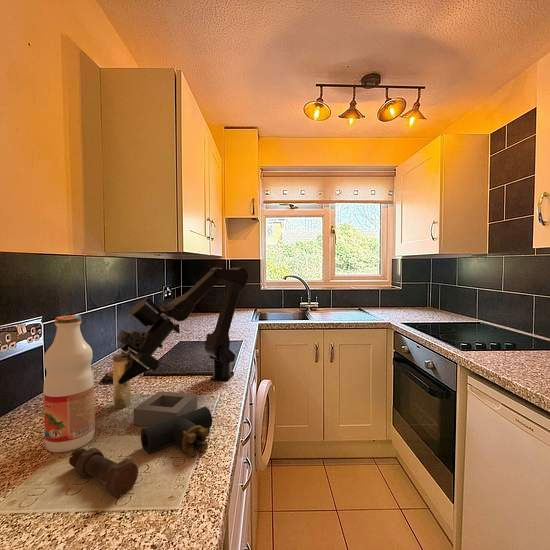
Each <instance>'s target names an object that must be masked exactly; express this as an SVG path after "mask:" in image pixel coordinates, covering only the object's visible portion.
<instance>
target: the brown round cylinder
mask: <svg viewBox="0 0 550 550" xmlns="http://www.w3.org/2000/svg"><path fill="white" fill-rule="evenodd" d="M129 365H130V354H127V353H123V354H121V353H117V354H114V355H113V356H112V370H113V384H112V387H113V389H112V390H113V391H112V392H113V408H114V409H124V408H127V407H130V406H131V404H132V390H131V389H132V386H131V385H132V383H131V382H132V381H131V380H132V379H130V380H128V381H127V382H125V383H123V384H119V383H118V381H119V379H120V378H121V376H122V375H123V373H124V372H125V370H126V369H127V368H128V366H129Z"/></svg>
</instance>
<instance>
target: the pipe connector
mask: <svg viewBox="0 0 550 550" xmlns="http://www.w3.org/2000/svg"><path fill="white" fill-rule="evenodd" d="M212 425H213V415H212V413H211V411H210V409H209V408H208V406H203V407H201V408H200V407H199V408H197V409H196V410H194V411H191V412H189V413H186V414H183V415H180V416H177V417H175V418H172V419H169V420H166V421H163V422H161V423H158V424H155V425H152V426H146V427H144V428H142V429H141V431H140V443H141V447H142V450H144V451H145V452H146V453H147V454H150V453H154V452H156V451H157V450H160V449H163V448H165V447H167V446H169V445H173V444H175V443H176V444H177V445H178V446H179V447H181V448H182V451H183V452H184V453H185V454H186V455H188V456H189V457H193V456H196V455H198V451H201V452H204V451H206V450H208V448H209V446H208V443H209V442H208V441H207V437H208V432H209V431H208V429H210V428H211V427H212Z"/></svg>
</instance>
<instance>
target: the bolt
mask: <svg viewBox="0 0 550 550" xmlns="http://www.w3.org/2000/svg"><path fill="white" fill-rule="evenodd" d="M68 459H69V460H68V463H69V465H70V466H72V467H73V468H74V470H75V472H76V473H77V474H78V475H79V476H80V477H81V478H84V479H87V478H90V477H93V478H95V479H97V480H100V481H101V482H104V483H105V484H104V486H103V487H104V488H105V489H106V490H107V491H108V492H109V493H110V494H111V496H113V497H114V498H116V499H117V498H119V497H122V496H123V495H125V494H126V493H128V492H130V490H131V489H132V488H133V487H134V486H135V484H136V482H137V479H138V475H139V467H138V465H137V464H136V463H135V462H134V461H133V459H130V458H128V457H126V458H125V459H123V460H121V461H120V462H119V461H118V462H115V461H113V460H112V459H109V458H106V457H105V455H104V454H103V452H102V451H101V450H100V449H98V448H97V447H92V448H89V449H85V448H78V449H75V450H74V451H73V452H71V454H70V457H69V458H68Z"/></svg>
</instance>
